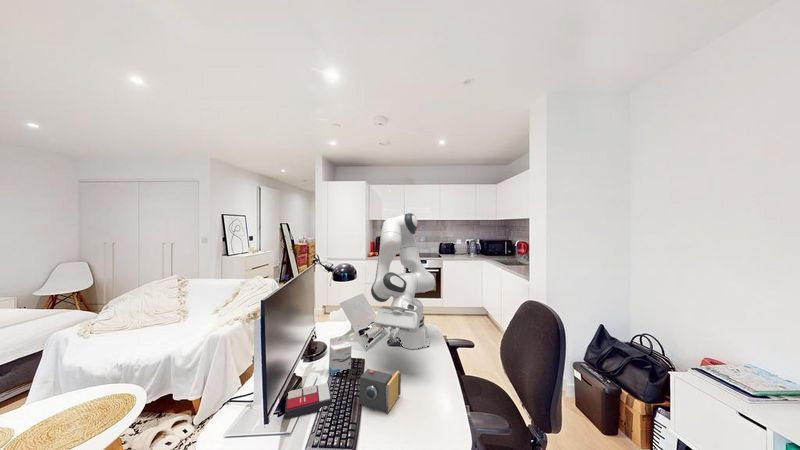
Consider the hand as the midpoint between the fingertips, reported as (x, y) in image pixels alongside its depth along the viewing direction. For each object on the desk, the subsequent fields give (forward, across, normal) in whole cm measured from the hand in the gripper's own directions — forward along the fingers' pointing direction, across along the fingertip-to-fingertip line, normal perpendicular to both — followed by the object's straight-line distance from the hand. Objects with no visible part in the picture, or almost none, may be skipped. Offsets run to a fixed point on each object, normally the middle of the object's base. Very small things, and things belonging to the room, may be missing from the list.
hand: (391, 338), depth 111 cm
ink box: (+14, -23, +10) cm, 29 cm away
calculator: (+31, -21, -5) cm, 37 cm away
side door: (+22, +7, +3) cm, 23 cm away
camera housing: (+23, +1, +2) cm, 23 cm away
